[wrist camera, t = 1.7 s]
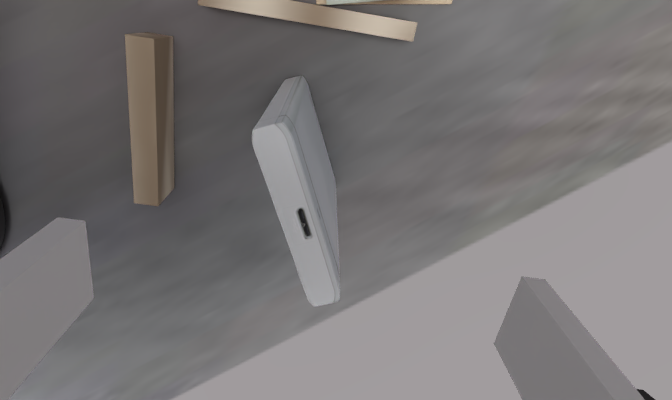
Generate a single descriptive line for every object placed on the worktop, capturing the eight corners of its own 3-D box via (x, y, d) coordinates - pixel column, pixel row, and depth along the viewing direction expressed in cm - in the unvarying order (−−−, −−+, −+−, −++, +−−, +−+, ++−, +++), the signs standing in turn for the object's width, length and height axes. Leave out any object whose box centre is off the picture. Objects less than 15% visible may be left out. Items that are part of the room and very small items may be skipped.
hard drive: (305, 73, 25) (290, 118, 14) (337, 188, 29) (347, 300, 17) (280, 80, 25) (245, 130, 14) (315, 194, 29) (310, 309, 17)
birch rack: (152, 185, 28) (134, 203, 25) (145, -25, 23) (121, -30, 20) (369, 213, 29) (373, 233, 27) (410, 22, 24) (421, 22, 21)
